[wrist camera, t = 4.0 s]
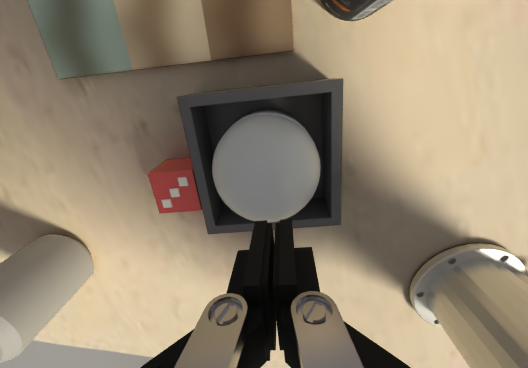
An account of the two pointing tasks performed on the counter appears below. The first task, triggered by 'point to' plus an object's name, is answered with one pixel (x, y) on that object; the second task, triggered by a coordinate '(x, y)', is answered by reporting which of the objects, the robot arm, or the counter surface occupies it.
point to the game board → (157, 32)
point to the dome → (266, 166)
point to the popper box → (215, 126)
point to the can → (38, 288)
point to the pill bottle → (353, 8)
